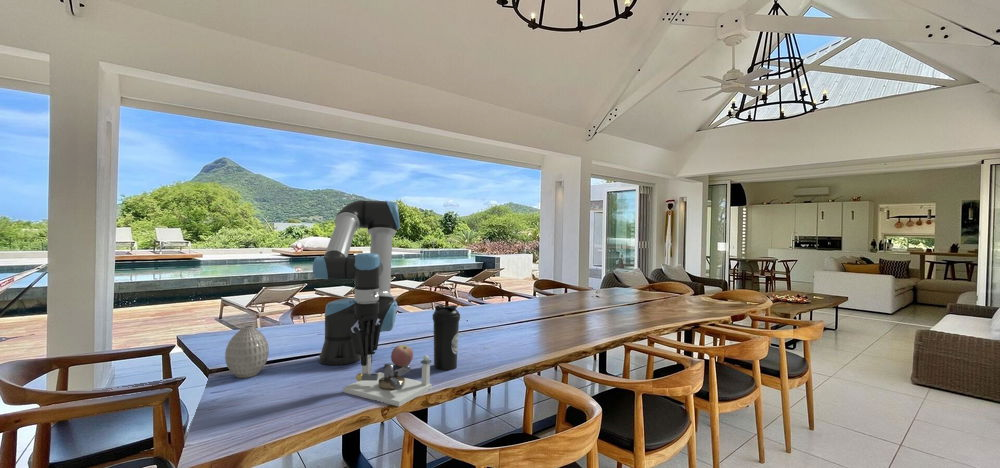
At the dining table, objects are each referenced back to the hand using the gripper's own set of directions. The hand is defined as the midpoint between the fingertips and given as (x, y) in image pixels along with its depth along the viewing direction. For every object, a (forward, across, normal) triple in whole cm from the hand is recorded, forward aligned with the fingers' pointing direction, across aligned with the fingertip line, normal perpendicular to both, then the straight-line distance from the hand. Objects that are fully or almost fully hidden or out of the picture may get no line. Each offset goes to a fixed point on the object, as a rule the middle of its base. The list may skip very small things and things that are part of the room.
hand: (366, 374), depth 135 cm
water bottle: (+5, +30, -11) cm, 32 cm away
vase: (+4, -11, +44) cm, 45 cm away
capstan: (+3, +1, -6) cm, 6 cm away
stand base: (+4, +2, -8) cm, 9 cm away
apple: (+5, +22, +3) cm, 23 cm away
